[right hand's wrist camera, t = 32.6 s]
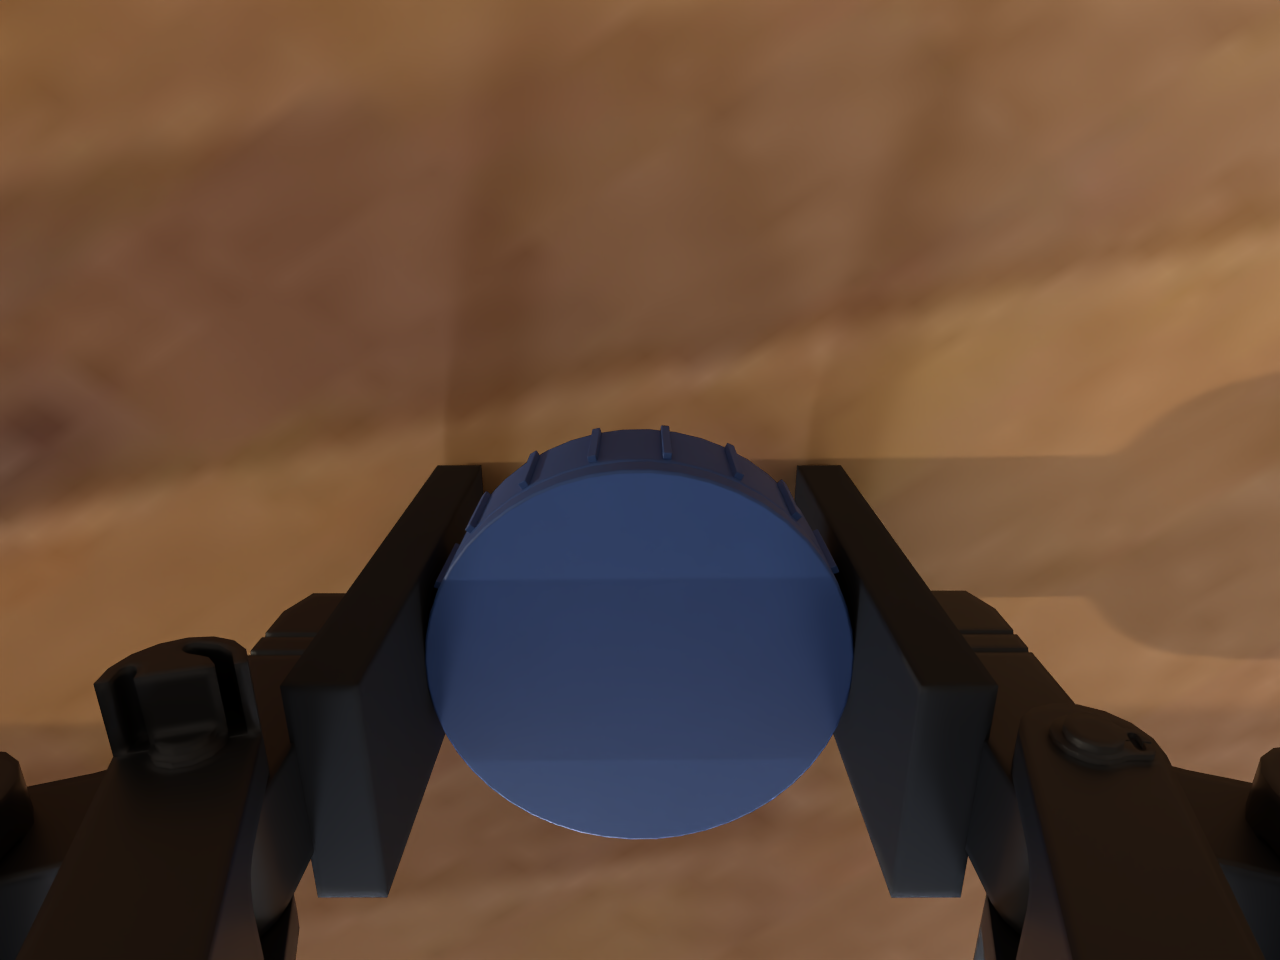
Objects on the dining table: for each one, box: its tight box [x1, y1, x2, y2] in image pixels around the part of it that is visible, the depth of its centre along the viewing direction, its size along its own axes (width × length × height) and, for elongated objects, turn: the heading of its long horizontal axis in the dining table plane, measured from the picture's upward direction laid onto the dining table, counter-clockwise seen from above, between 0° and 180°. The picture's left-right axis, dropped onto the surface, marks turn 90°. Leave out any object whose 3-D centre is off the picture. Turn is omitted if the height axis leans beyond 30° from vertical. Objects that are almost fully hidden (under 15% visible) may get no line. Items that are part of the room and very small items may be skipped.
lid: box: [425, 425, 854, 839], centre depth 11 cm, size 6×6×2 cm
